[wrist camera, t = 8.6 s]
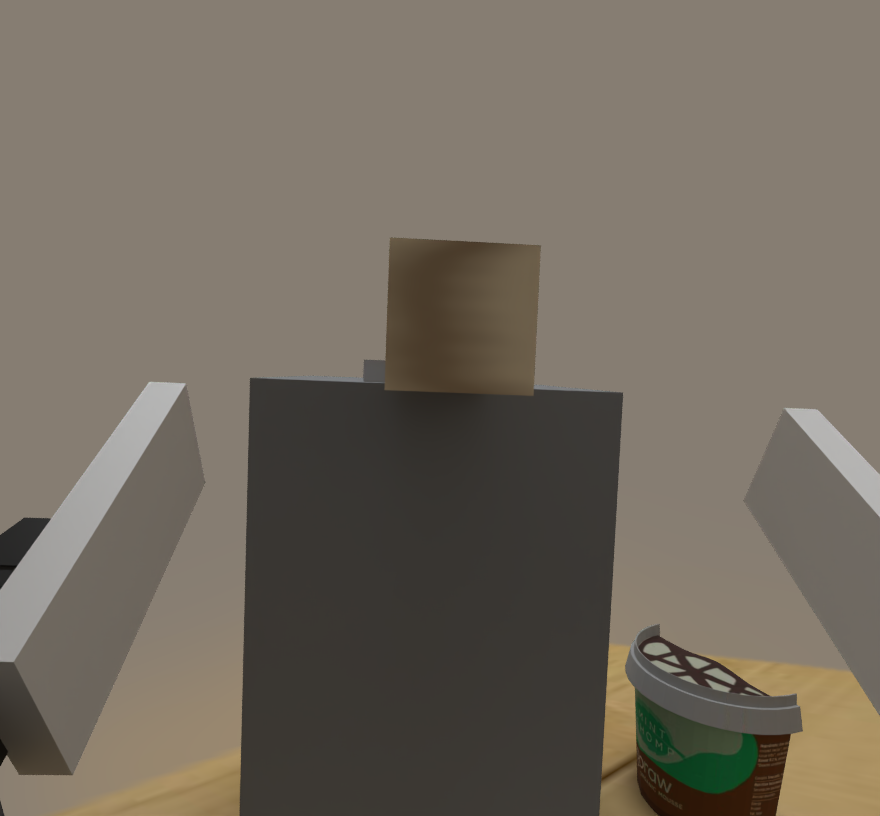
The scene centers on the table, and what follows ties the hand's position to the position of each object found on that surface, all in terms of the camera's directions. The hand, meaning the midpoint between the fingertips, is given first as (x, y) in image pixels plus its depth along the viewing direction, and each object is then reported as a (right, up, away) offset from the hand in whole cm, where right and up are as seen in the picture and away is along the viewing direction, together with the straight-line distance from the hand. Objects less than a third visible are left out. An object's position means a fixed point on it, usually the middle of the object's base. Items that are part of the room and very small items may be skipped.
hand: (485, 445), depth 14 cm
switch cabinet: (-3, -26, +23) cm, 35 cm away
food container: (+15, -26, +28) cm, 41 cm away
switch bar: (-1, +2, +15) cm, 16 cm away
